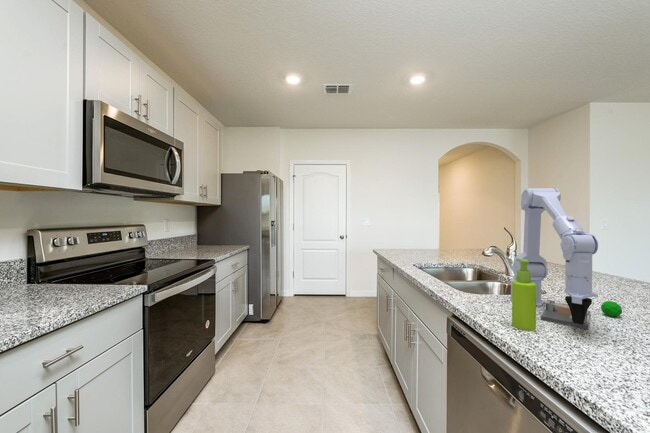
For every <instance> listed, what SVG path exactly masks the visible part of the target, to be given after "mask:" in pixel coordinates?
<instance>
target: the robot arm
mask: <svg viewBox="0 0 650 433" xmlns="http://www.w3.org/2000/svg"><path fill="white" fill-rule="evenodd" d="M561 196H562V195H561V192H560V190H559V189H558V188H557V187H548V188H547V187H546V188H545V187H543V188H542V187H541V188H539V187H538V188H531V187H527V188H524V190H523V191H522V193H521V196H520V210H522V211H524V223H523V225H524V227H523V244H522V245H523V247H522V248H523V249H522V250H523V251H522V253H520V254H518V255H516V256H515V257H514V260H513V264H512V273H513V275H514V276H513V277H511V280H510V301H511V302H512V281H517V270H519V269H520V261H516V259H526V260H528V261H529V263H527V270H529V271H530V272H531V282H532V283H535V284H536V307H537V306H538V307H541V306H542V305H543V304H544V303H545V301H544V299H542V281H544V279H546V278H547V276H548V274H549V273H548V272H549V271H548V270H549V269H548V265H547V259H546V258H544V257H543V256H541V255H540V247H541V246H540V244H541V227H542V224H541V223H542V214H543V213H544V211H546V212H547V214H548V215H549V216H550V217H551V218H552V220H553V222H552V227H553V228H554V231H555V233H557V235H558V236H559V238H560V239H561V241H560V249H561V251H562V257H563V260H565V264H564V265H565V272H564V273H565V282H564V283H565V286H564V288H565V289H564V292H563V293H565V294H567V295H566V296H565V298H564V300H565V302H566V304H568V306H569V308H570V311H571V316H572V320H573V323H576V324H581V325H583V324H584V321H585V316H586V312H587V310H588V311H589V308H590V307H591V305H592V303H593V299H591V298H592V297H595V298H598V297H599V293H597V292H593V255H595V254H596V253H597V252H598V250H599V242H598V239H597V238H596V235H594V234H591V233H589V232H588V231H587V232H586V231H584V230H583V227H581V225H580V224H579V223H578V221H577V219H576V218H575V217H574V216H572V215H568V214H567V212H566V210H565V209H564V207H563V205H562V203H561V198H562V197H561Z"/></svg>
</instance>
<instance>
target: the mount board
mask: <svg viewBox="0 0 650 433" xmlns="http://www.w3.org/2000/svg"><path fill="white" fill-rule="evenodd" d="M551 303H556V301H555V300H549V299H547V301H546V302H545V309H544V310H543V312H542V313H541V315H540V321H545V322H549V323H554V324H558V325H564V326H568V327H573V328H578V329H581V330H582V329H583V330H589V326H590V319H591V311H590V310H589V309H588V310H587V314H586V322H585V323H584V324H583V325H581V324H576V323H573V320H572V316H571V311H570V308H567V307H561V306H558V308H555V307H553V304H551ZM558 304H563V305H568V304H567V303H561V302H560V303H558Z"/></svg>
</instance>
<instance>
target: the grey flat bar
mask: <svg viewBox="0 0 650 433" xmlns="http://www.w3.org/2000/svg"><path fill="white" fill-rule="evenodd" d="M551 304H553V307H555V308H558V306H561V307H567V308H569V306H568V305H563V304H564V303H562V304H559V303H558V302H555V303H551ZM586 314H587V312H586Z"/></svg>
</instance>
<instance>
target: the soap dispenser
mask: <svg viewBox="0 0 650 433" xmlns="http://www.w3.org/2000/svg"><path fill="white" fill-rule="evenodd" d="M516 261H520V269H519V270H517V281H512V301H511V325H512V327H514V328H516V329H520V330H524V331H530V332H531V331H535V330H537V305H536V284H535V283H532V282H531V272H530V271H529V270H527V263H529V261H528V260H526V259H516Z"/></svg>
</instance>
